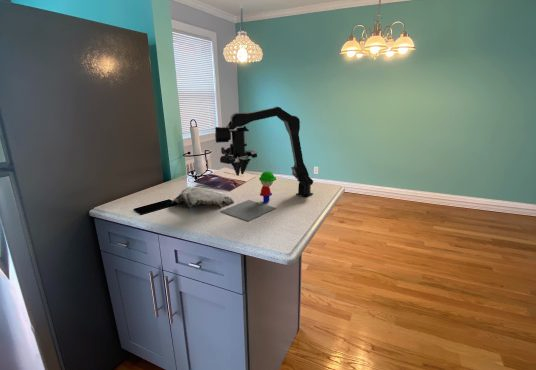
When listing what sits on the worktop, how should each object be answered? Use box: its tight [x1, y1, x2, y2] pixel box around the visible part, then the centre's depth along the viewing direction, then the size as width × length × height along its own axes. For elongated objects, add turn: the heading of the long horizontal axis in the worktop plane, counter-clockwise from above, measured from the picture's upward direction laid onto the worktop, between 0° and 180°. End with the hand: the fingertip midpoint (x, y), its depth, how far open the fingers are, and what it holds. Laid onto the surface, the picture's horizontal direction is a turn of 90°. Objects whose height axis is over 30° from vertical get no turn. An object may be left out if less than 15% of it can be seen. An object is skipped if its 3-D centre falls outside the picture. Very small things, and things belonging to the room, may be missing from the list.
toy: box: [258, 170, 277, 204], centre depth 140 cm, size 8×8×15 cm
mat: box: [219, 199, 277, 223], centre depth 133 cm, size 18×17×1 cm
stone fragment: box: [170, 186, 235, 208], centre depth 144 cm, size 25×29×6 cm
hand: (240, 174), depth 140 cm, fingers open, 3 cm apart
